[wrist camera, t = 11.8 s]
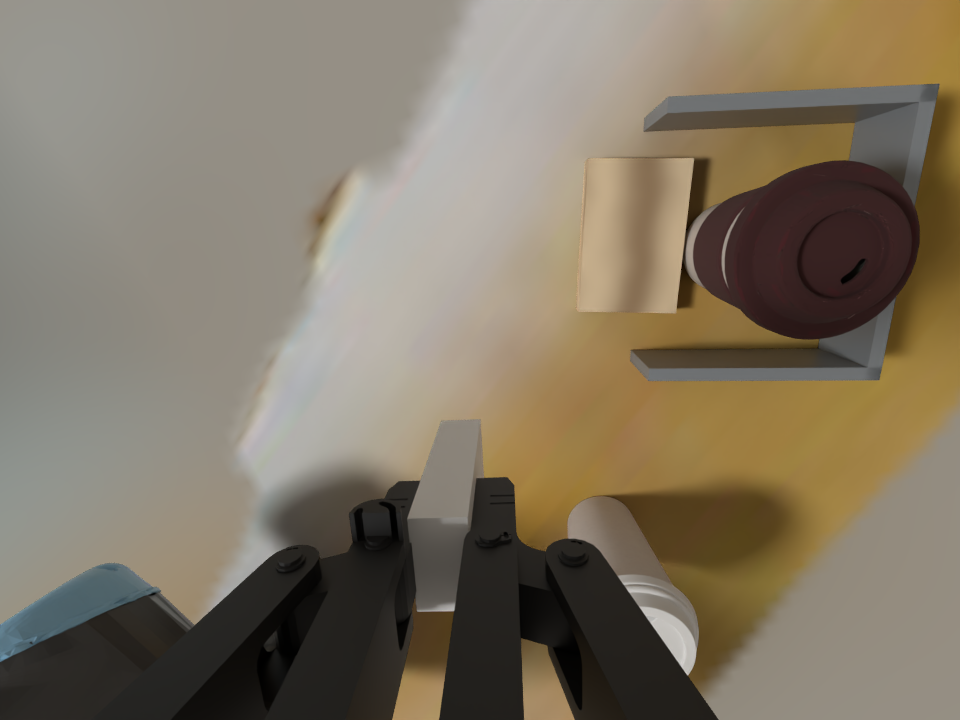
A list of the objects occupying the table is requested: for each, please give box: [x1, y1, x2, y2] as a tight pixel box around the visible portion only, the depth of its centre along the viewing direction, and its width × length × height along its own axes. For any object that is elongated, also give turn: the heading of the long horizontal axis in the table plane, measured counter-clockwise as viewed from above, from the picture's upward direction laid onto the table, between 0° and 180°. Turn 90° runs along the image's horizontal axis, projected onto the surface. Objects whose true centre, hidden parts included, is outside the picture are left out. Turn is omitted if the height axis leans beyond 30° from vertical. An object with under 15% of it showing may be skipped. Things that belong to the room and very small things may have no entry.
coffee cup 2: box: [682, 161, 920, 339], centre depth 32 cm, size 10×10×15 cm
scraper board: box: [576, 158, 694, 313], centre depth 39 cm, size 8×12×2 cm, turn 0°
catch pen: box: [630, 84, 939, 381], centre depth 36 cm, size 17×20×6 cm
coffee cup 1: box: [568, 496, 699, 676], centre depth 40 cm, size 10×10×15 cm
